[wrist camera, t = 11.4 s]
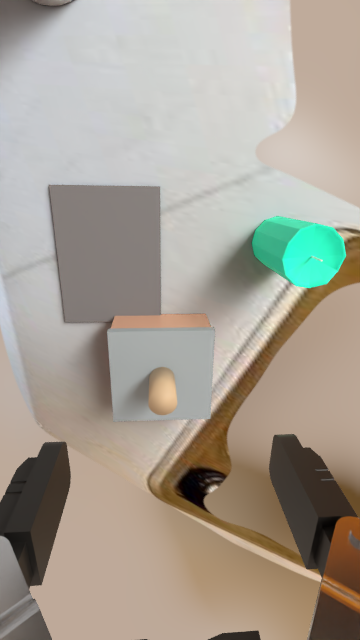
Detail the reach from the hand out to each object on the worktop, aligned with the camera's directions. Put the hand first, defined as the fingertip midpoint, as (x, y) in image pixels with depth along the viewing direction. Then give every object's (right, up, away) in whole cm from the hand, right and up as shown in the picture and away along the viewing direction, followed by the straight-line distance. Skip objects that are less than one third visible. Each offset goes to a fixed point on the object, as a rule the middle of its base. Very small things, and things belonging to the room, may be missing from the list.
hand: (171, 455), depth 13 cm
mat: (-8, +13, +27) cm, 31 cm away
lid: (-2, -1, +27) cm, 27 cm away
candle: (+12, +15, +28) cm, 34 cm away
